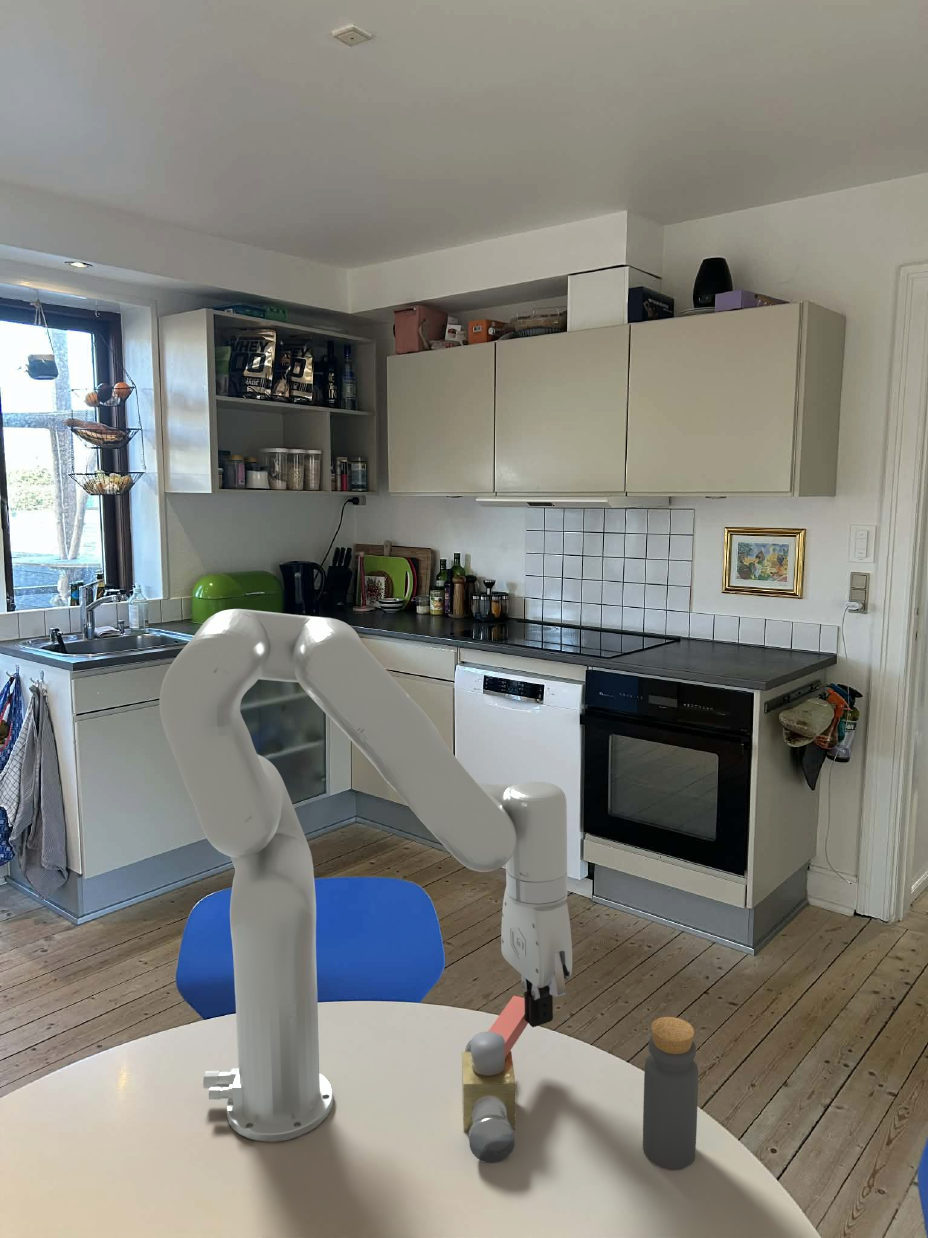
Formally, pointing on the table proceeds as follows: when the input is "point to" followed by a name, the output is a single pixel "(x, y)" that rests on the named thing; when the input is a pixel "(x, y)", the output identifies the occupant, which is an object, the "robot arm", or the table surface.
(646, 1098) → the bottle
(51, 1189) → the table surface
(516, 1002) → the lever
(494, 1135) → the valve body
